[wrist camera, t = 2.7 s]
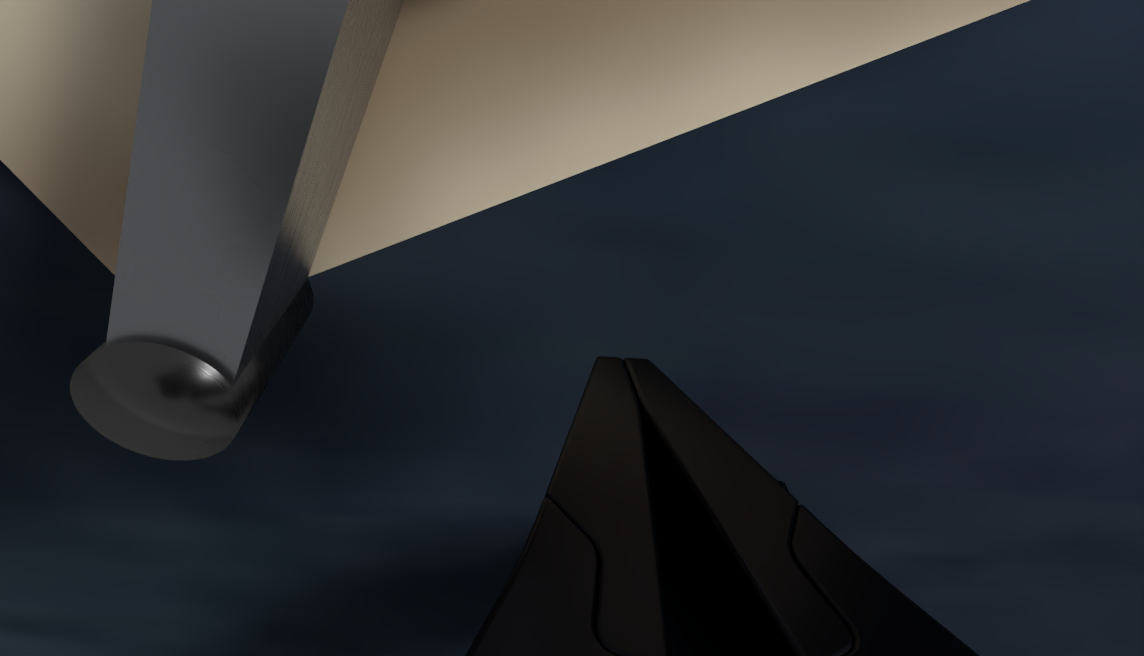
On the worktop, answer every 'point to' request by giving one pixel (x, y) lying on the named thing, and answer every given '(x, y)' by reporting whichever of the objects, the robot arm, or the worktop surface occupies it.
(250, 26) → the grey metal handled piece
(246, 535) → the worktop surface
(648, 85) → the level board
